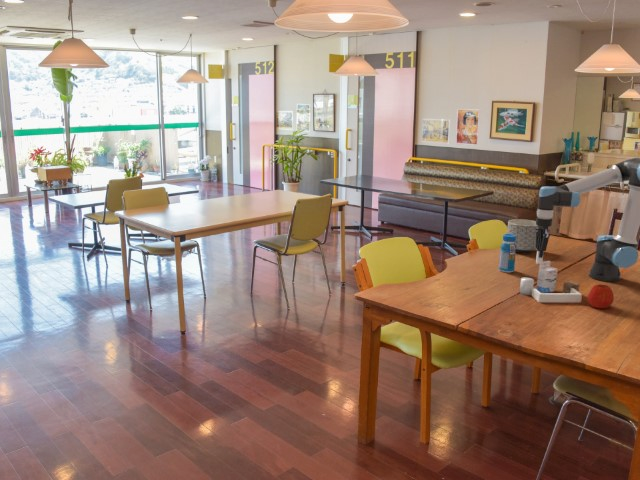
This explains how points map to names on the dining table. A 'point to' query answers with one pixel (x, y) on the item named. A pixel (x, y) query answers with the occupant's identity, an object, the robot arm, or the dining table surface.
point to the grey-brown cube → (569, 285)
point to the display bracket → (557, 296)
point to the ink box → (546, 278)
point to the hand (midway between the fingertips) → (538, 263)
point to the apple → (600, 296)
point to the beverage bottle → (507, 253)
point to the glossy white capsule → (526, 286)
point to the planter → (523, 234)
